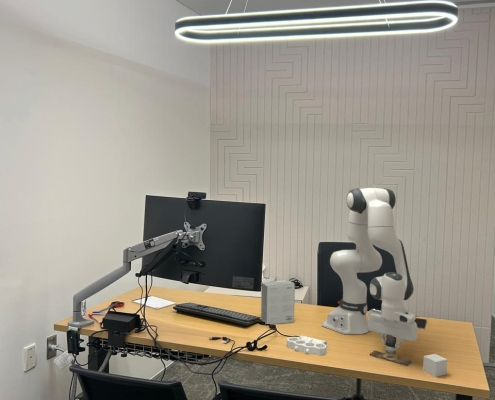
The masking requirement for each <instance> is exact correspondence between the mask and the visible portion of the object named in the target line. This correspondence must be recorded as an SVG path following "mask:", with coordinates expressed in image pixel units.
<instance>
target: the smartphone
mask: <svg viewBox="0 0 495 400" xmlns="http://www.w3.org/2000/svg"><path fill="white" fill-rule="evenodd" d="M414 321H415V322H416V324H417V328H418V329H419V330H425V329H426V325H427V319H425V318H419V317H416V319H415V320H414ZM418 329H417V330H418Z"/></svg>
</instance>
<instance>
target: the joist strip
mask: <svg viewBox="0 0 495 400" xmlns="http://www.w3.org/2000/svg"><path fill="white" fill-rule="evenodd" d="M369 356H371V357H375V358H377V359H381V360H386V361H387V362H388V361H389V362H392V363H395V362H396V364H400V365H402V366H406V367H407V366H409V365H410V364H411V363H413V361H412V359H411V360H410V359H407V358H403V357H401V356H400V357H399V356H397V355H396V354H393V355H391V354H387V353H386V352H382V351H378V350H373V351H372V352H370V353H369Z"/></svg>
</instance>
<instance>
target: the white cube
mask: <svg viewBox="0 0 495 400" xmlns="http://www.w3.org/2000/svg"><path fill="white" fill-rule="evenodd" d="M422 362H423V364H422V365H423V367H422V372H424V373H426V372H427V373H426V374H428V373H429V374H428V375H430V376H432V377H434V378H438V377H442V376H445V375H447V374H448V373H447V371H448V370H447V368H448V359H447V358H445V357H443V356H441V355H439V354H437V353H432V354H428V355H423V361H422Z"/></svg>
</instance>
